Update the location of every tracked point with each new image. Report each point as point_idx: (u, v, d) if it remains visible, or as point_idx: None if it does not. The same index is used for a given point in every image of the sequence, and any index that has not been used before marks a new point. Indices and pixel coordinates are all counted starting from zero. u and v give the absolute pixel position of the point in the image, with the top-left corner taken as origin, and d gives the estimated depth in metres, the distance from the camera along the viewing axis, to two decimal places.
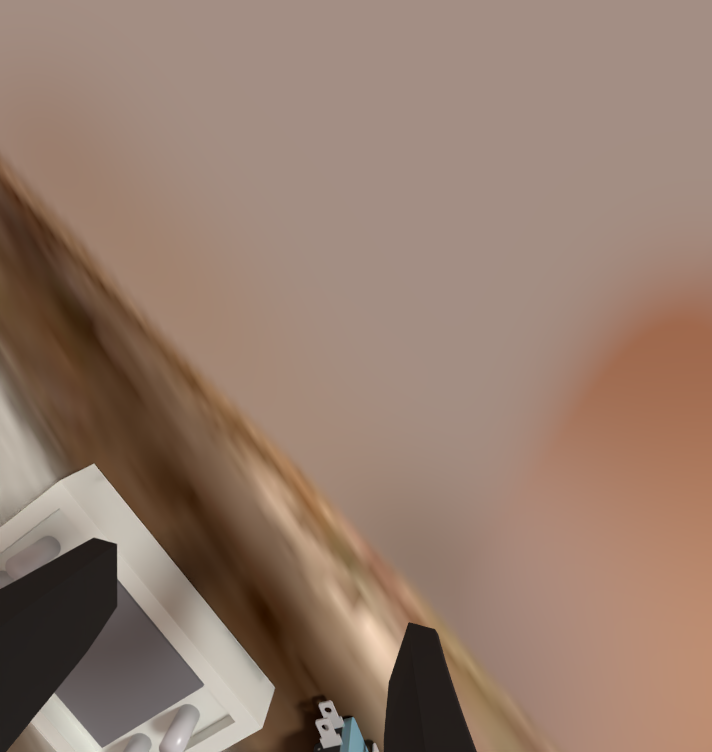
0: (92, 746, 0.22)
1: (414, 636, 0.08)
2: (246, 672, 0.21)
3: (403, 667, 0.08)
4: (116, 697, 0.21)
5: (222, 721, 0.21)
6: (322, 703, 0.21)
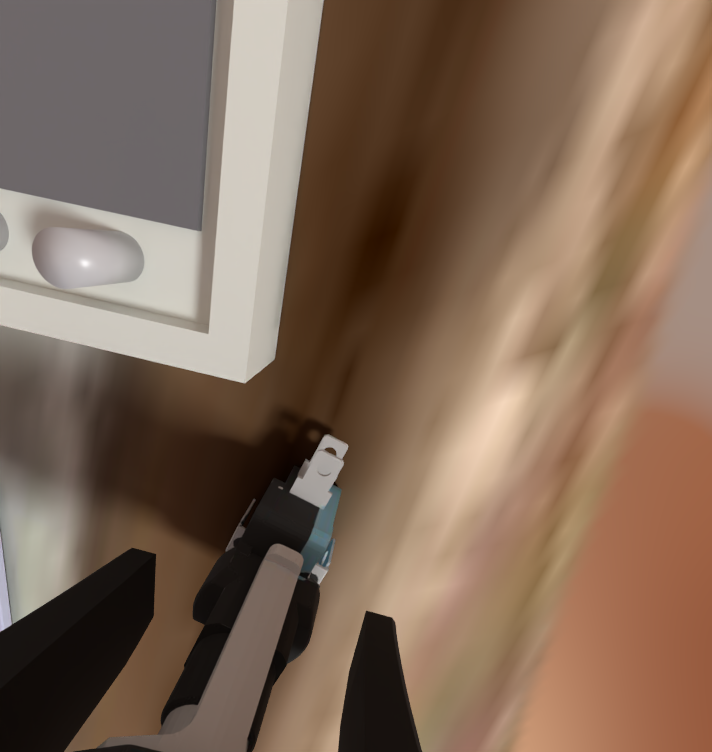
0: None
1: (369, 624, 0.08)
2: (274, 289, 0.10)
3: (358, 655, 0.08)
4: (1, 91, 0.09)
5: (173, 319, 0.10)
6: (332, 438, 0.11)
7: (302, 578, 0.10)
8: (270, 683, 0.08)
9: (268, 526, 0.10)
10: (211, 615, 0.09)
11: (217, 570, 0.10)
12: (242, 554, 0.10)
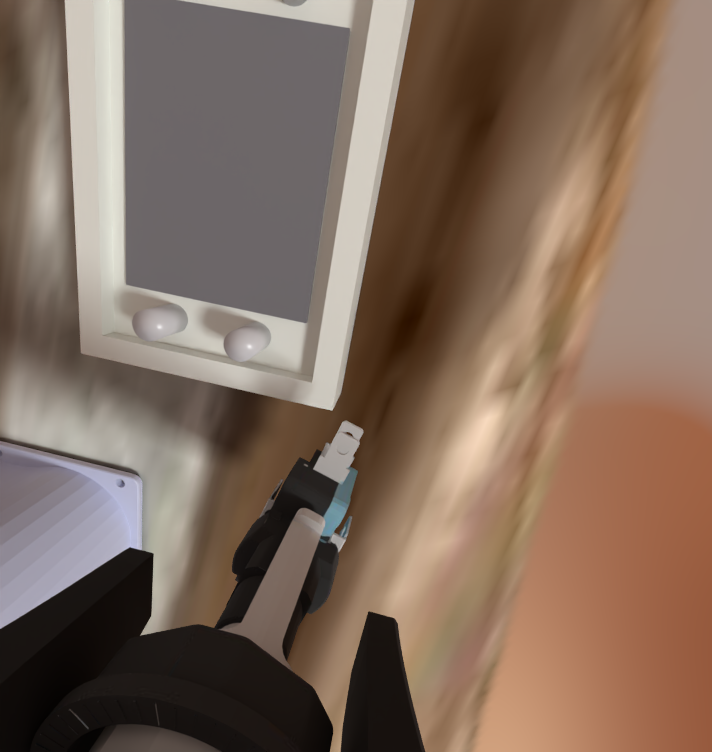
0: (113, 274, 0.16)
1: (372, 624, 0.08)
2: (346, 352, 0.17)
3: (360, 655, 0.08)
4: (196, 247, 0.15)
5: (287, 372, 0.16)
6: (350, 424, 0.13)
7: (324, 541, 0.12)
8: (298, 617, 0.10)
9: (295, 494, 0.12)
10: (250, 561, 0.11)
11: (253, 530, 0.12)
12: (273, 518, 0.12)
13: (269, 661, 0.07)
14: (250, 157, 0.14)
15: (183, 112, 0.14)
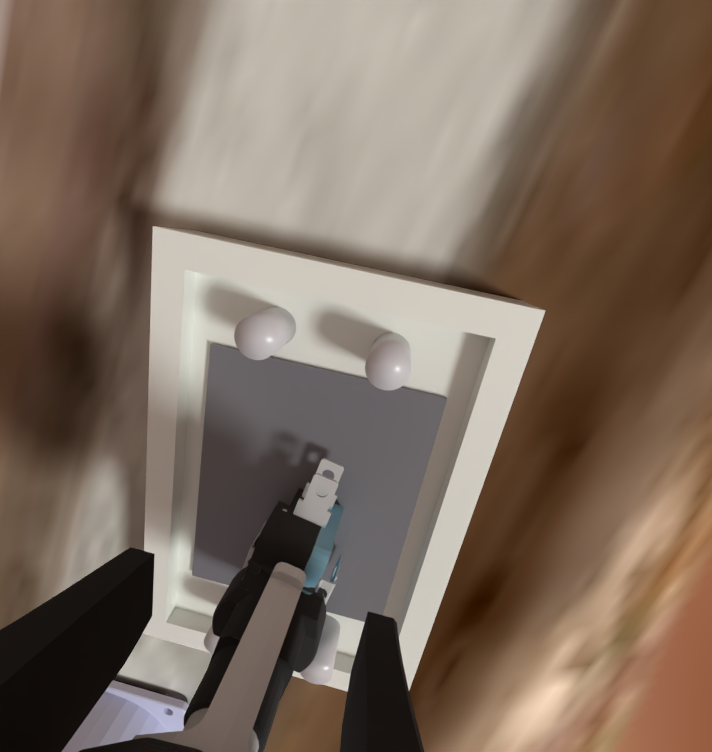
0: (179, 562, 0.16)
1: (371, 624, 0.08)
2: None
3: (360, 655, 0.08)
4: None
5: None
6: (329, 461, 0.12)
7: (308, 593, 0.11)
8: (278, 689, 0.09)
9: (273, 546, 0.11)
10: (224, 629, 0.10)
11: (230, 589, 0.11)
12: (252, 573, 0.11)
13: None
14: None
15: (264, 446, 0.13)
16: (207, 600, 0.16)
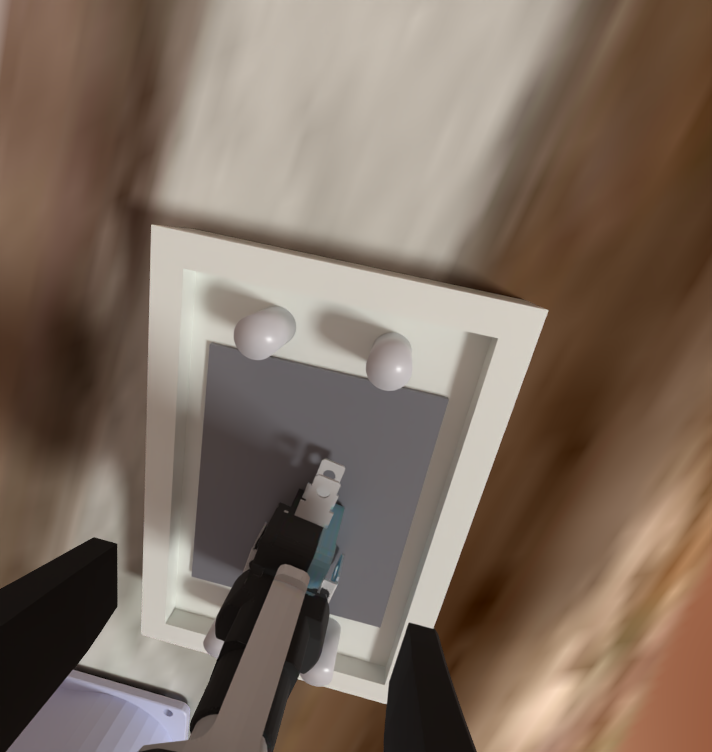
0: (178, 564, 0.15)
1: (414, 636, 0.08)
2: None
3: (403, 667, 0.08)
4: None
5: (357, 663, 0.16)
6: (330, 461, 0.12)
7: (311, 594, 0.11)
8: (285, 692, 0.09)
9: (276, 548, 0.11)
10: (229, 633, 0.10)
11: (233, 592, 0.11)
12: (255, 575, 0.11)
13: None
14: None
15: (264, 447, 0.13)
16: (207, 601, 0.16)
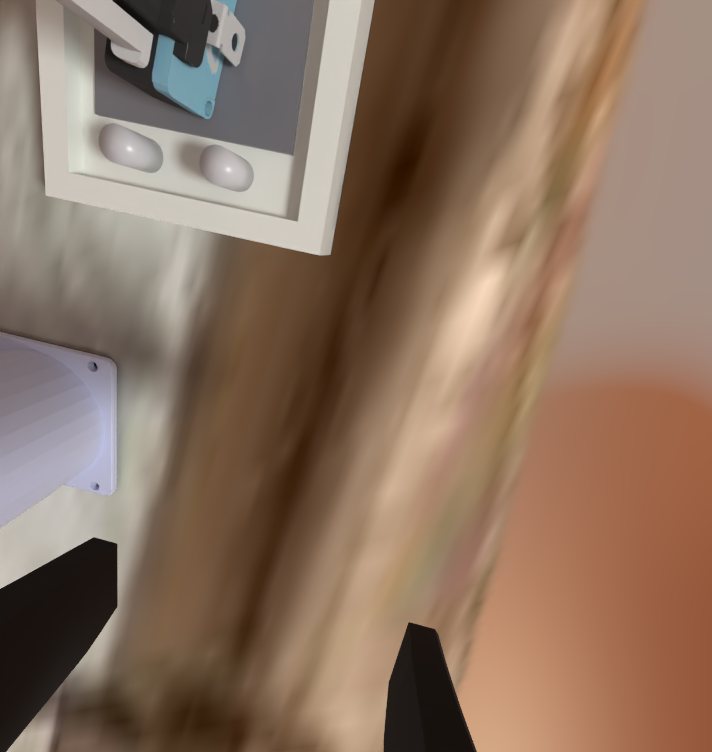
0: (81, 102, 0.15)
1: (414, 636, 0.08)
2: (336, 198, 0.15)
3: (403, 667, 0.08)
4: None
5: (271, 215, 0.15)
6: None
7: None
8: None
9: None
10: None
11: None
12: None
13: None
14: None
15: None
16: None
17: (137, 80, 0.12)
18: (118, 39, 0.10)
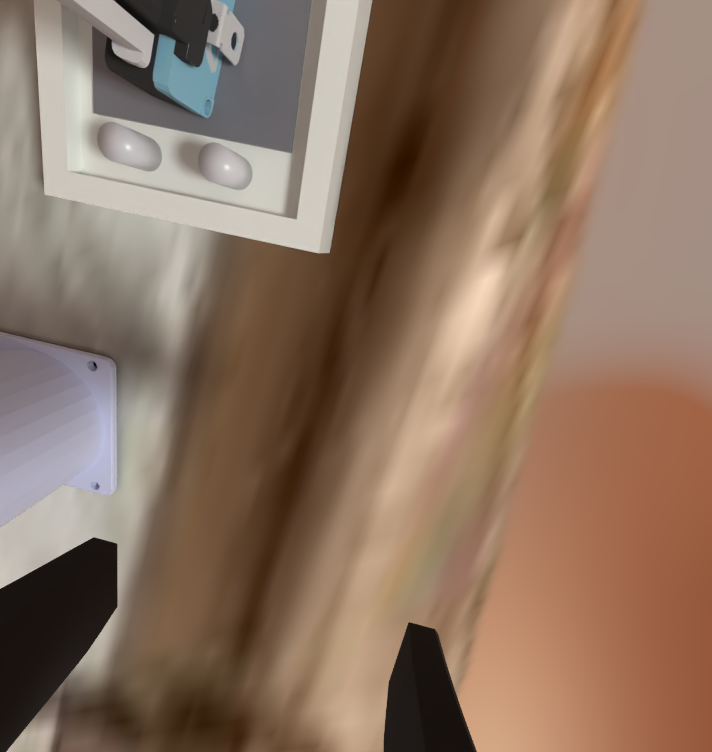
0: (80, 101, 0.15)
1: (414, 636, 0.08)
2: (335, 196, 0.15)
3: (403, 667, 0.08)
4: None
5: (270, 213, 0.15)
6: None
7: None
8: None
9: None
10: None
11: None
12: None
13: None
14: None
15: None
16: None
17: (137, 80, 0.12)
18: (120, 39, 0.10)
